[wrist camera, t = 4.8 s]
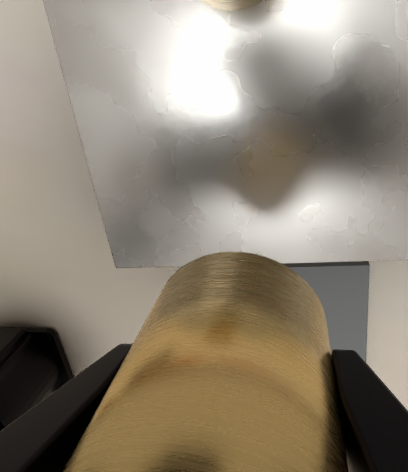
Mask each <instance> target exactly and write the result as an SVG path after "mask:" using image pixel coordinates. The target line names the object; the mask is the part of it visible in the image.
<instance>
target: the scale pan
mask: <svg viewBox="0 0 408 472" xmlns="http://www.w3.org/2000/svg"><path fill="white" fill-rule="evenodd" d="M43 2H44V6H45V10H46V13H47V17H48V21H49V24H50V28H51V32H52V35H53V39H54V43H55V46H56V50H57V54H58V57H59V61H60V65H61V68H62V72H63V76H64V80H65V83H66V87H67V91H68V94H69V98H70V102H71V105H72V109H73V113H74V116H75V120H76V124H77V127H78V131H79V135H80V138H81V142H82V146H83V149H84V153H85V157H86V160H87V164H88V168H89V171H90V175H91V179H92V182H93V186H94V190H95V193H96V197H97V201H98V204H99V208H100V212H101V215H102V219H103V223H104V226H105V230H106V234H107V237H108V241H109V245H110V248H111V252H112V256H113V259H114V263H115V267H116V268H141V267H176V266H184V265H185V264H187V263H189V262H191V261H193V260H194V259H197V258H199V257H202V256H205V255H209V254H213V253H219V252H246V253H253V254H257V255H261V256H265V257H267V258H270V259H273V260H275V261H277V262H279V263H315V262H350V261H385V260H408V0H263V1H262V2H260V3H258V4H257V5H254V6H252V7H250V8H247V9H243V10H237V11H224V10H219V9H216V8H213V7H210V6H208V5H207V4H205V3H203V2H201V1H200V0H43Z"/></svg>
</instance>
